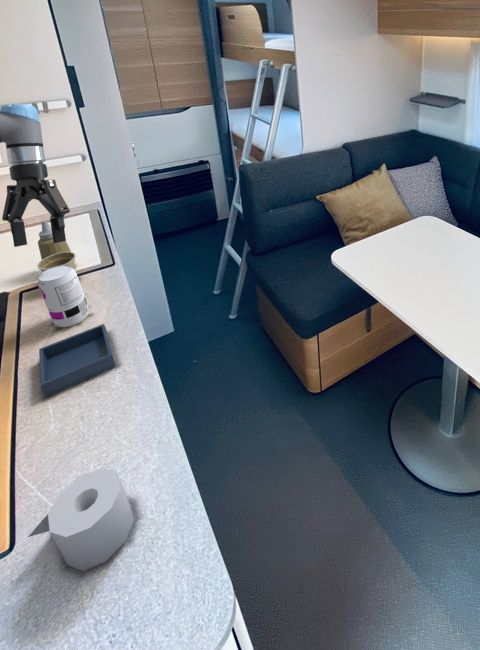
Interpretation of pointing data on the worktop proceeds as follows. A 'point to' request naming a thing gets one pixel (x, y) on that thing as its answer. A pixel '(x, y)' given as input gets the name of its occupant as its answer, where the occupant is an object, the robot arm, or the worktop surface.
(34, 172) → the robot arm
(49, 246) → the squeeze bottle
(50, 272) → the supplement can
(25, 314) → the worktop surface
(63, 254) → the flower pot
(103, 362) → the blue open tray
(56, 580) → the worktop surface
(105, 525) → the toilet tissue
